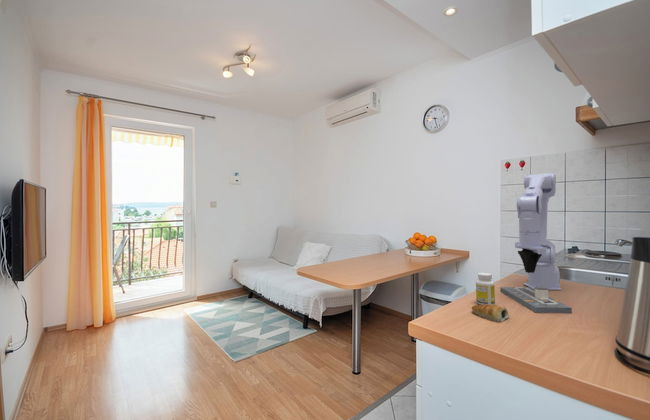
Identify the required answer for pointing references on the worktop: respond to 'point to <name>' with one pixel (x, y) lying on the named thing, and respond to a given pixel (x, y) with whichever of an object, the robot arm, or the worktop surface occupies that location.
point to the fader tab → (541, 293)
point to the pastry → (491, 312)
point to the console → (535, 300)
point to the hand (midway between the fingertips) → (529, 272)
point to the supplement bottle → (485, 289)
